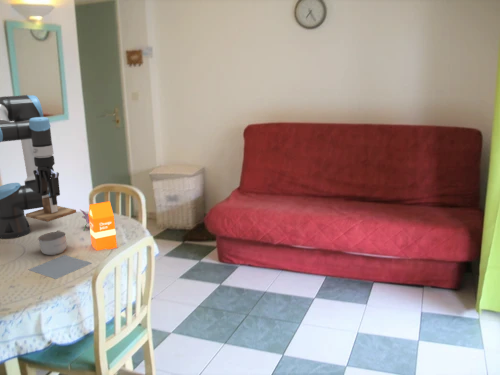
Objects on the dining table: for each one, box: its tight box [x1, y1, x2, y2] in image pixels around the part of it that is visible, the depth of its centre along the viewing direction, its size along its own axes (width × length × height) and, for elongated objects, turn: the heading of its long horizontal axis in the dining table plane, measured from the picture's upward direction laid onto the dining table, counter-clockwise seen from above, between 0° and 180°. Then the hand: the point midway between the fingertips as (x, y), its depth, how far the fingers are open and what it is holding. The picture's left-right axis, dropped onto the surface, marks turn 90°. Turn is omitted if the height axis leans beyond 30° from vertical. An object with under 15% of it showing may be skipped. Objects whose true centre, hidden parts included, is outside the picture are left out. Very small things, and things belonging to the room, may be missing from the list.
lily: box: [80, 209, 89, 231], centre depth 240 cm, size 12×12×10 cm
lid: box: [25, 196, 77, 223], centre depth 209 cm, size 14×14×7 cm
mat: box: [27, 254, 93, 280], centre depth 197 cm, size 17×17×1 cm
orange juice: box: [88, 200, 118, 251], centre depth 215 cm, size 8×9×20 cm
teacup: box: [37, 230, 68, 256], centre depth 213 cm, size 14×11×8 cm
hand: (50, 211), depth 209 cm, fingers closed on lid, 4 cm apart
